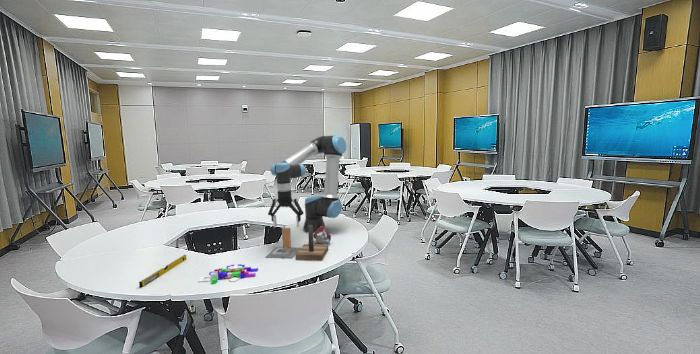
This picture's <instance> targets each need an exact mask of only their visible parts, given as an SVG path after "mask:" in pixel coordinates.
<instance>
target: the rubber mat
mask: <svg viewBox="0 0 700 354" xmlns="http://www.w3.org/2000/svg"><path fill="white" fill-rule="evenodd" d="M277 248H283V246H282V247H281V246H280V247H278V246H276V247H275V246H274V248H273V249H272V250H271V251H270V252H268V253H267V255H265V256H264V258H266V259H268V258H270V259H293V258H294V257H296V256H295V254H296V253H297V252H298V251H299V250H300V249H301V247H292V248H293V251H292V252H291V253H290V255H289V256H288V257H284V256H272V254H271V253H272V252H274V251H275V250H276V249H277ZM278 253H286V252H278Z"/></svg>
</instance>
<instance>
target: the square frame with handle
mask: <svg viewBox="0 0 700 354" xmlns="http://www.w3.org/2000/svg"><path fill="white" fill-rule="evenodd" d="M281 235H282V236H281V238H282V239H281V241H282V247H283V248H277V249H276V250H275V251H274V252H272V253H271V254H272V256H284V257H288V256H289V255H290V253H291V252H292V251H293V248H294V247H292V238H291V236H292V235H291V227H282V228H281ZM278 252H286V253H278Z"/></svg>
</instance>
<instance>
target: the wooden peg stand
mask: <svg viewBox="0 0 700 354" xmlns="http://www.w3.org/2000/svg"><path fill="white" fill-rule="evenodd" d="M307 234H308V243H304V244H303V245H302V246H301V247H300V248H301V249H300V250H299V251H298V252H297V253H296V254H295V256H294V257H295V261H310V262H311V261H313V262H314V261H317V262H318V261H320V262H321V261H323V260H324V258H325V257H326V255H327V254H328V251H329V244H328V245H321V244H314V243H313V239H314V237H313V234H314V233H313V225H308V232H307Z"/></svg>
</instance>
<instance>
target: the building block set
mask: <svg viewBox="0 0 700 354" xmlns="http://www.w3.org/2000/svg"><path fill="white" fill-rule="evenodd" d="M245 265H246V264H241V263H240V264H236V265H235V264H231V265H226V268H221V267H220V268H216V269H214V270H213V271H210V272H209V273H208V275H205V276H200V278H199V279H198V280H197V283H208V282H211V285H216V284H217V282H218V281H219V280H228V281H229V282H230V283H236V282H238V281H240V280H241V279H245V278H255V277H256V272H258V270H259V268H258V267H256V268H252V267H251V266H245Z"/></svg>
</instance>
